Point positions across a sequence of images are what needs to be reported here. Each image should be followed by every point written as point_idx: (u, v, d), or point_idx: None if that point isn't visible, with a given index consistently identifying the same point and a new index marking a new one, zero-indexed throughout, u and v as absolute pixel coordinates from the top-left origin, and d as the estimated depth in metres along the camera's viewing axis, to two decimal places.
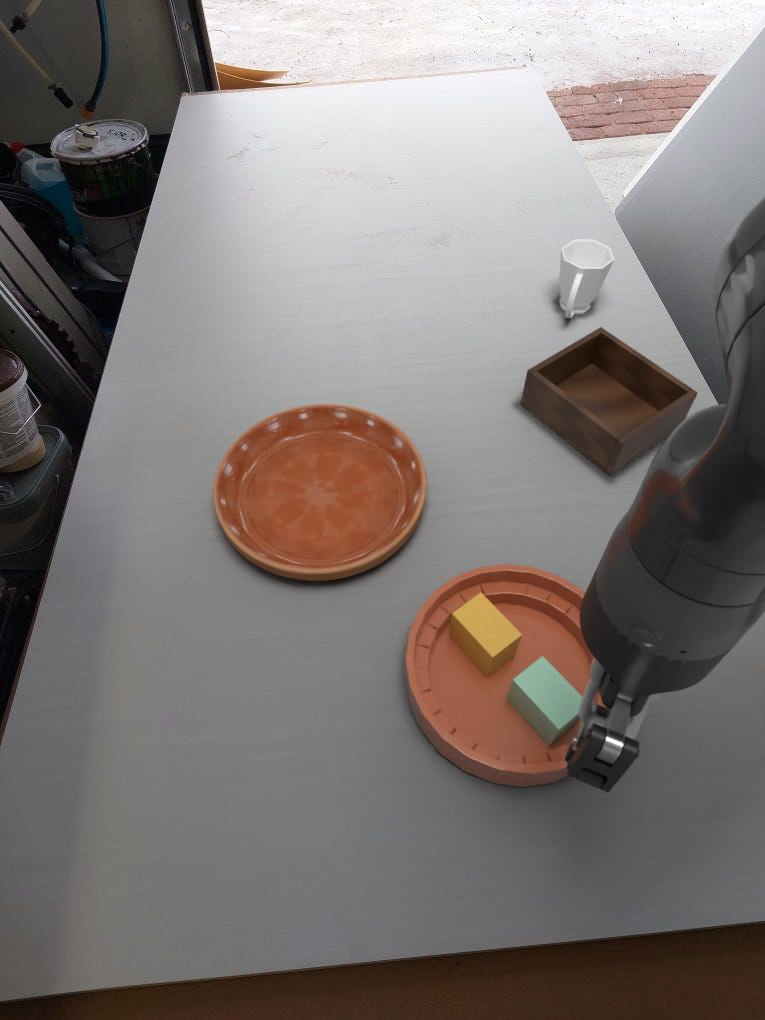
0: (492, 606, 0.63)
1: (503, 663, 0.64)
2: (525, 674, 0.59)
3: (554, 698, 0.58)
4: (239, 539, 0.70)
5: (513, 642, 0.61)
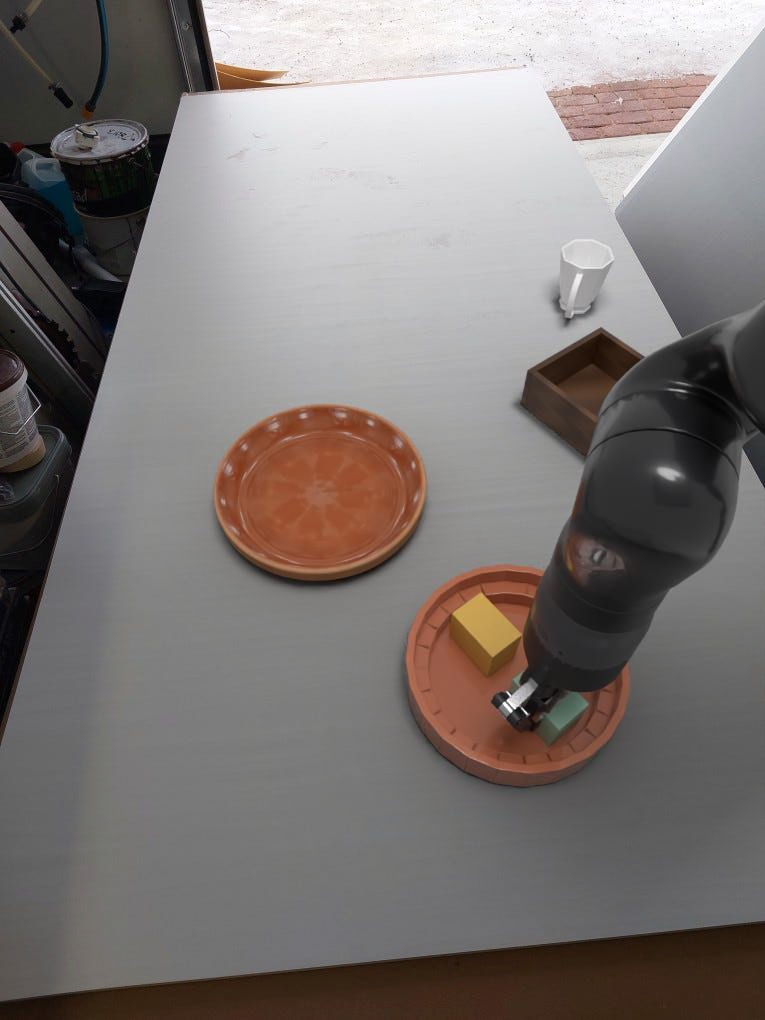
0: (492, 606, 0.63)
1: (503, 663, 0.64)
2: None
3: None
4: (239, 539, 0.70)
5: (513, 642, 0.61)
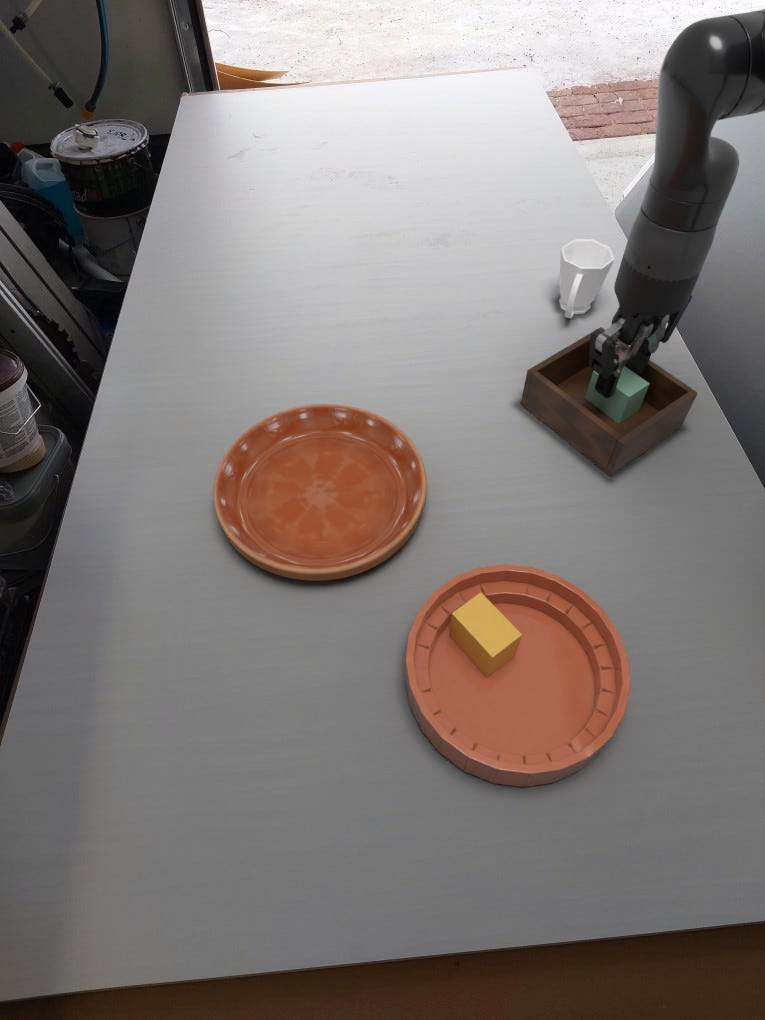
0: (492, 606, 0.63)
1: (503, 663, 0.64)
2: None
3: (624, 380, 0.80)
4: (239, 539, 0.70)
5: (513, 642, 0.61)
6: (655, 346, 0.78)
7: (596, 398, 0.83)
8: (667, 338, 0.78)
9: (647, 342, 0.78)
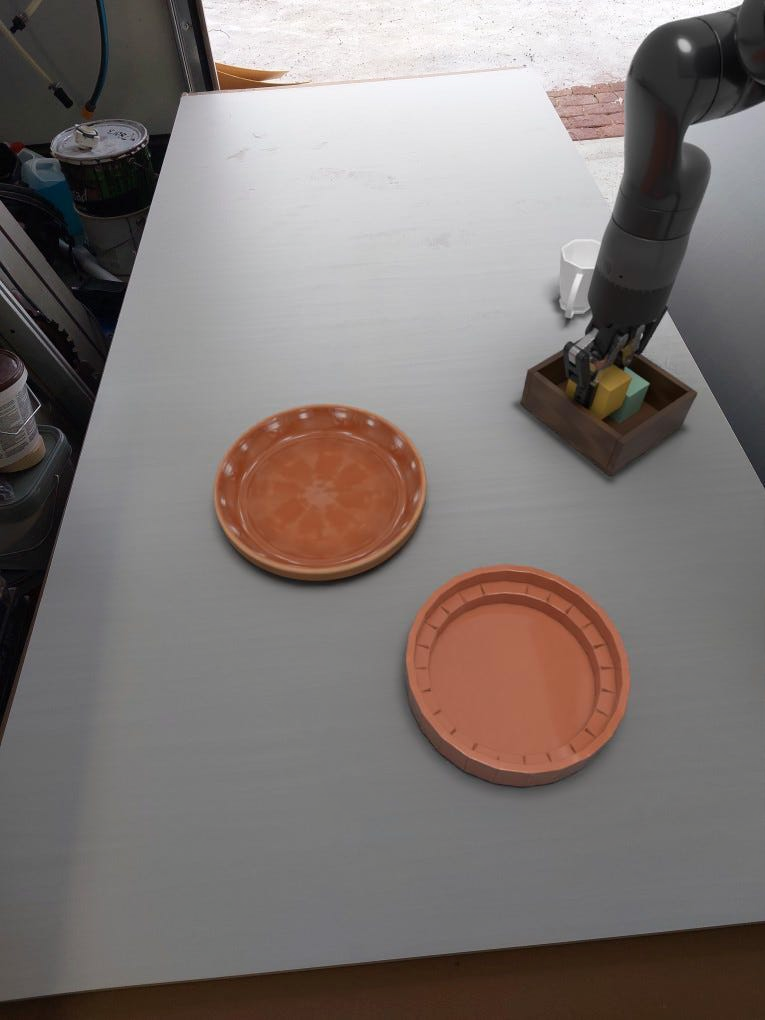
0: None
1: (613, 409, 0.78)
2: None
3: None
4: (239, 539, 0.70)
5: (625, 383, 0.75)
6: (629, 358, 0.75)
7: None
8: (641, 350, 0.76)
9: (621, 354, 0.76)
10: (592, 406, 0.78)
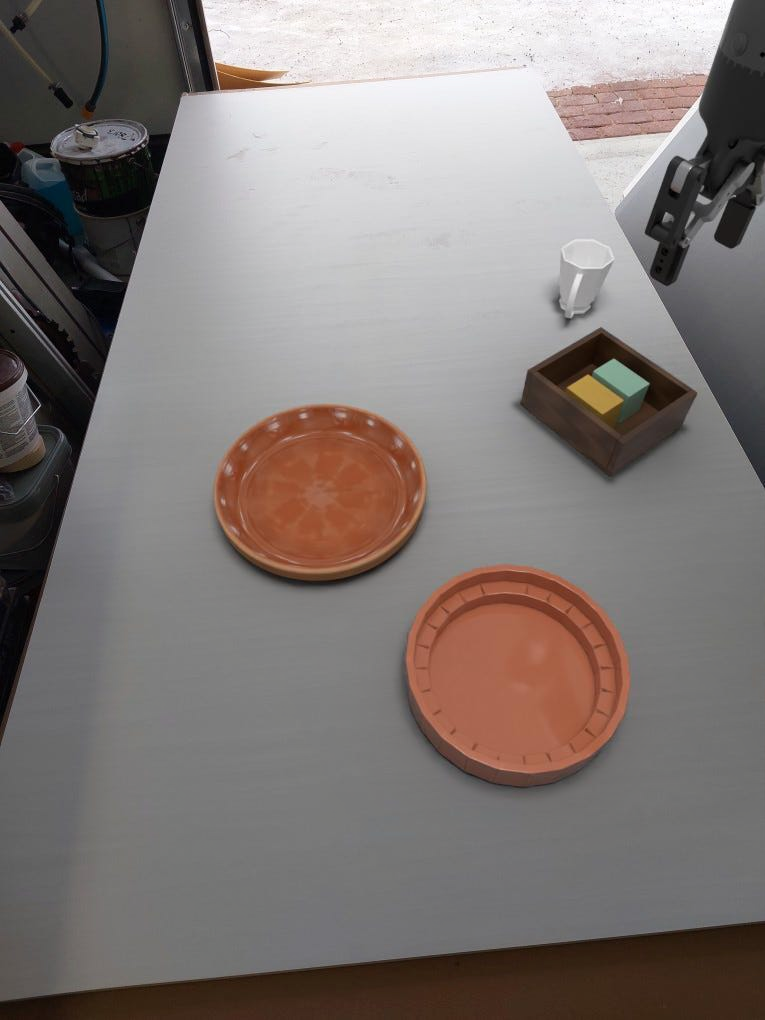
0: (598, 383, 0.80)
1: None
2: (602, 368, 0.81)
3: (624, 380, 0.80)
4: (239, 539, 0.70)
5: (617, 405, 0.78)
6: (762, 194, 0.56)
7: None
8: None
9: None
10: None
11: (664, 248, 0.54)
